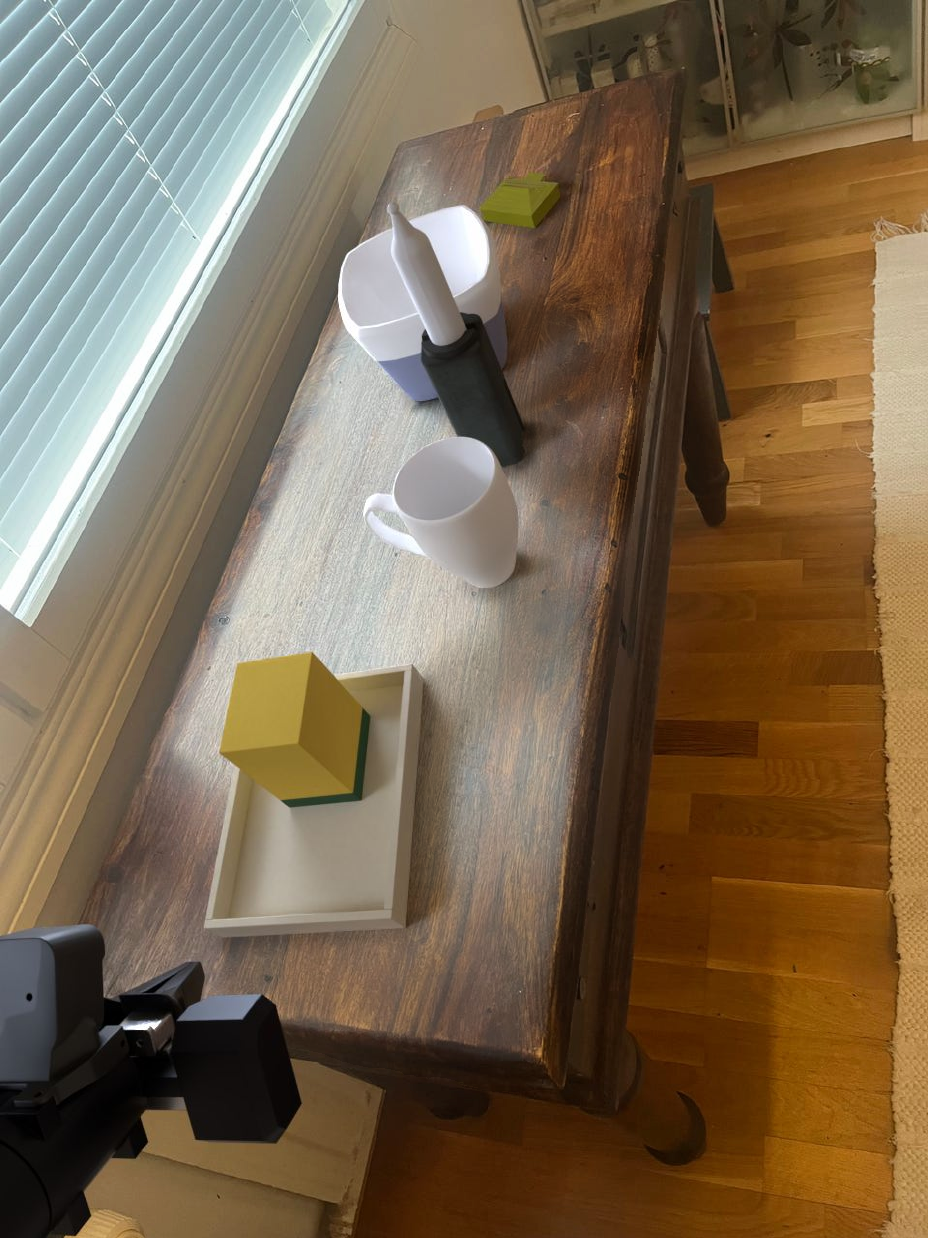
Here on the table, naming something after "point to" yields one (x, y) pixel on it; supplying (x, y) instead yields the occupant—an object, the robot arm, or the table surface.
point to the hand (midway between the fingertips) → (197, 969)
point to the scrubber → (296, 731)
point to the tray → (327, 834)
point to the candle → (457, 350)
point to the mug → (453, 511)
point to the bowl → (387, 309)
